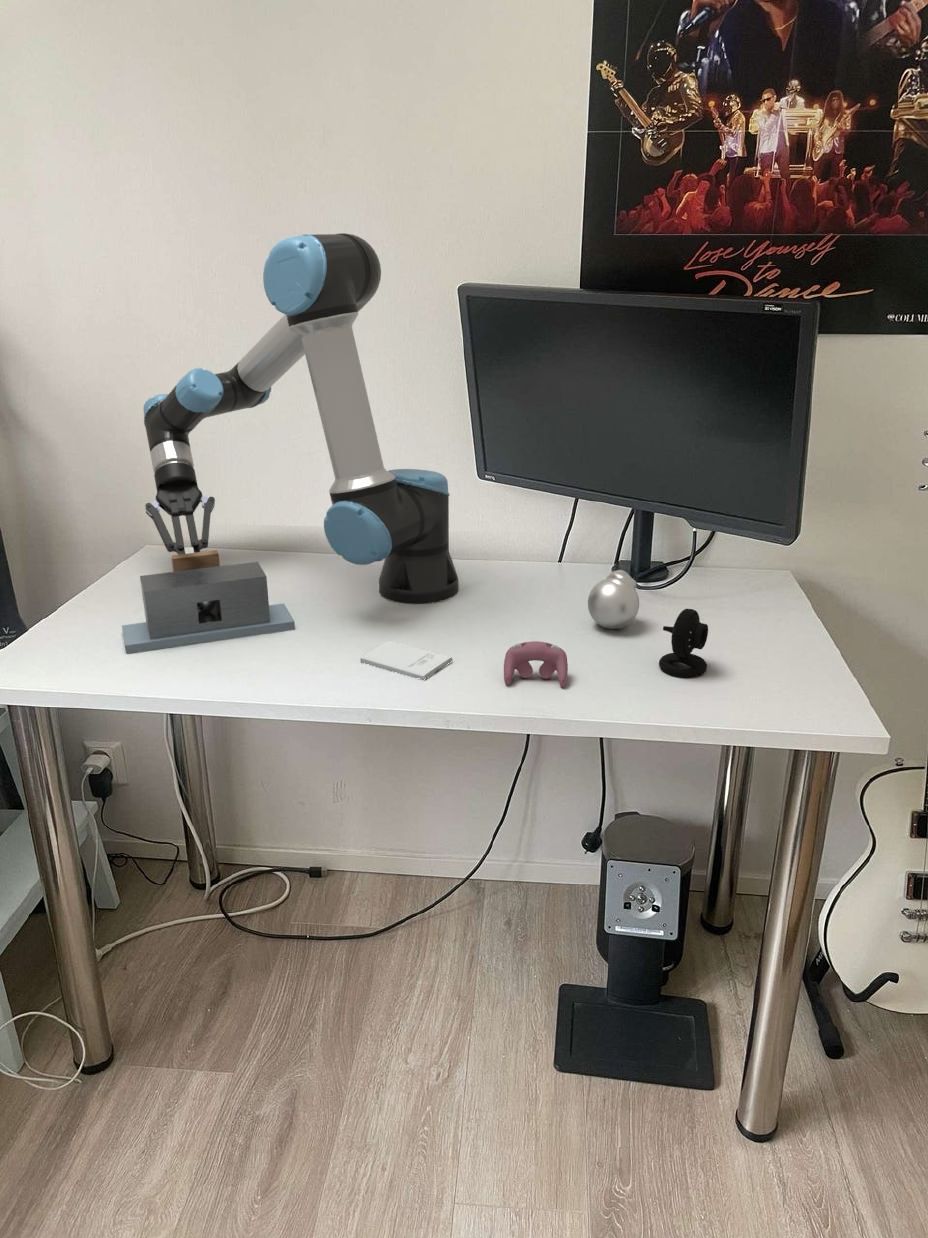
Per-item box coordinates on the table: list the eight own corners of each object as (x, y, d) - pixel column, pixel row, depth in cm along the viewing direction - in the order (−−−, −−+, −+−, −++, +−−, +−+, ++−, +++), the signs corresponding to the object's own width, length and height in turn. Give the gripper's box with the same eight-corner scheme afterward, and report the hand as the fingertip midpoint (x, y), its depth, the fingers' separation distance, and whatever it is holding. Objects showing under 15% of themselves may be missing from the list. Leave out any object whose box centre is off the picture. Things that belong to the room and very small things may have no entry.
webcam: (696, 683, 155) (702, 623, 151) (651, 672, 159) (655, 613, 155) (713, 664, 161) (719, 606, 158) (669, 654, 165) (674, 597, 161)
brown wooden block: (222, 601, 186) (216, 550, 182) (232, 624, 176) (226, 570, 172) (177, 607, 183) (171, 555, 179) (185, 631, 173) (178, 576, 169)
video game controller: (567, 687, 158) (568, 642, 158) (567, 687, 153) (568, 641, 153) (503, 685, 158) (505, 640, 159) (502, 685, 154) (504, 639, 154)
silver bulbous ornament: (650, 631, 174) (654, 577, 170) (602, 640, 170) (605, 584, 166) (623, 613, 181) (626, 560, 178) (577, 621, 178) (579, 567, 174)
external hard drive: (390, 648, 169) (452, 664, 163) (360, 666, 163) (423, 684, 157) (390, 639, 169) (452, 655, 162) (360, 656, 162) (423, 674, 156)
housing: (284, 610, 183) (280, 558, 179) (295, 629, 175) (291, 575, 171) (123, 633, 174) (115, 578, 170) (126, 653, 166) (118, 597, 162)
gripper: (208, 478, 197) (229, 586, 189) (139, 484, 193) (157, 595, 185) (209, 457, 191) (231, 568, 183) (137, 463, 186) (156, 577, 179)
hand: (194, 582), depth 184 cm, fingers closed
